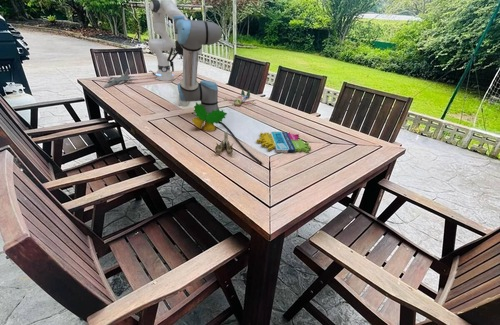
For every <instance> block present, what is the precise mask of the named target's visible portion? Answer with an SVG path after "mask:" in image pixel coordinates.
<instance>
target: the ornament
mask: <svg viewBox="0 0 500 325" xmlns="http://www.w3.org/2000/svg"><path fill="white" fill-rule="evenodd" d="M219 110H220V108H219V109H217V110H216V111H214V110H212V112H211V113H208V112H206V109H204V106H201V103H198V101H195V105H194V106H193V112H194V113H195V118H192V119H191V122H192V123H193V125H195V127H197V128H198V129H202V130H203V131H206V132H212V131H213V132H214V131H215V130H216V126H215V124H218V123H219V121H220V122H222V123H223V119H226V115H227V114H228V113H227V112H224V110H223V109H221V110H220V111H219ZM207 113H208V115H207ZM214 123H215V124H214Z"/></svg>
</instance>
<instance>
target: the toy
mask: <svg viewBox="0 0 500 325" xmlns="http://www.w3.org/2000/svg"><path fill="white" fill-rule="evenodd" d="M240 92H241V93H240V95H238V96H237V97H235V99H233V98H230V99H228V98H227V97H226V96H225V97H224V98H223V101H224V102H233V103H232V104H233V105H235V106H242V103H243V104H247V105H252V106H255V105H256V104H257V103H256V102H254V101H253V100H252V101H251V102H250V101H248V100H246V99H248V98H250V97H251V90H250V89H249V90H248V91H247V92H246V93H245V91H244V89H242V90H241V91H240Z"/></svg>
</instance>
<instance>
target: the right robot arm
mask: <svg viewBox="0 0 500 325" xmlns="http://www.w3.org/2000/svg"><path fill="white" fill-rule="evenodd" d="M173 19H174V20H173ZM173 19H172V20H173V32H174V42H175V48H173V47H172V48H171V51H170V52H169V54H168V59H167V61H169V65H170V68H171V71H172V73H173V72H174V71H175V66H174V59H175V58H176V57H177V56H178V55H179V56H182V78H181V79H180V82H178V83H177V90H178V91H177V92H178V97H179V96H180V100H181V101H185V102H188V101H189V102H200V104H201V106H204V109H206V112H208V113H211V112H212V110H214V111H216V110H217V109H219V111H221V110H220V107H219V102H218V99H219V98H218V97H219V88H218V84H217V83H216V82H215V81H213V80H205V79H204V80H200V81H198V80H197V77H198V76H197V75H198V64H199V55H198V52H199V51H200V50H201V48H202V49H203V46H211V45H215V44H216V43H218V42H219V41H220V40H221V38H222V35H223V32H222V29H221V27H220V25H219V24H217V23H215V22H214V21H213V22H212V21H208V20H199V19H198V20H197V19H189V20H185V17H184V16H177V15H174V17H173ZM173 52H175V53H174V55H173ZM208 113H207V115H208ZM218 123H220V124H222V126H224V127H225V129H227V131H228V132H229V133H230V135H231V136H232V137H233V138H234V139H235V141H236V142H237V144H239V146H240V147H241V148H242V149H243V150H244V151H245V152H246V153H247V154H248V155H249V156H250V157H252V158H253V159H254V160H255V161H257V162H258V163H259V164H261V165H262V164H263V162H262V161H261V160H259V159H258V158H257V157H256V156H254V155H253V154H252V153H251V152H249V150H247V148H246V147H245V146H244V145H243V144H242V143H241V141H240V140H238V138H237V137H236V136H235V134H234V133H233V132H232V131H231V129H229V127H228V126H227V125H226V124H225V123H223V121H222V122H221V121H219V122H218Z"/></svg>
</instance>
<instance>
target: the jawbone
mask: <svg viewBox="0 0 500 325" xmlns="http://www.w3.org/2000/svg"><path fill="white" fill-rule="evenodd" d="M228 132H229V131H226V132H224V134H223V135H224V136H223V140H222V139H221V142H220V144H218V142H215V144H216V146H215V148H214V149H215V152H214V154H215V155H217V156H218V155H220V153H221V152H223V151H224V150H226V152H227V153H228V155H229V156H233V155H234V154H233V153H234V148H233V144H234V143H230V140H228V139H229V138H228V137H229V136H228V135H229V133H228Z"/></svg>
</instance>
